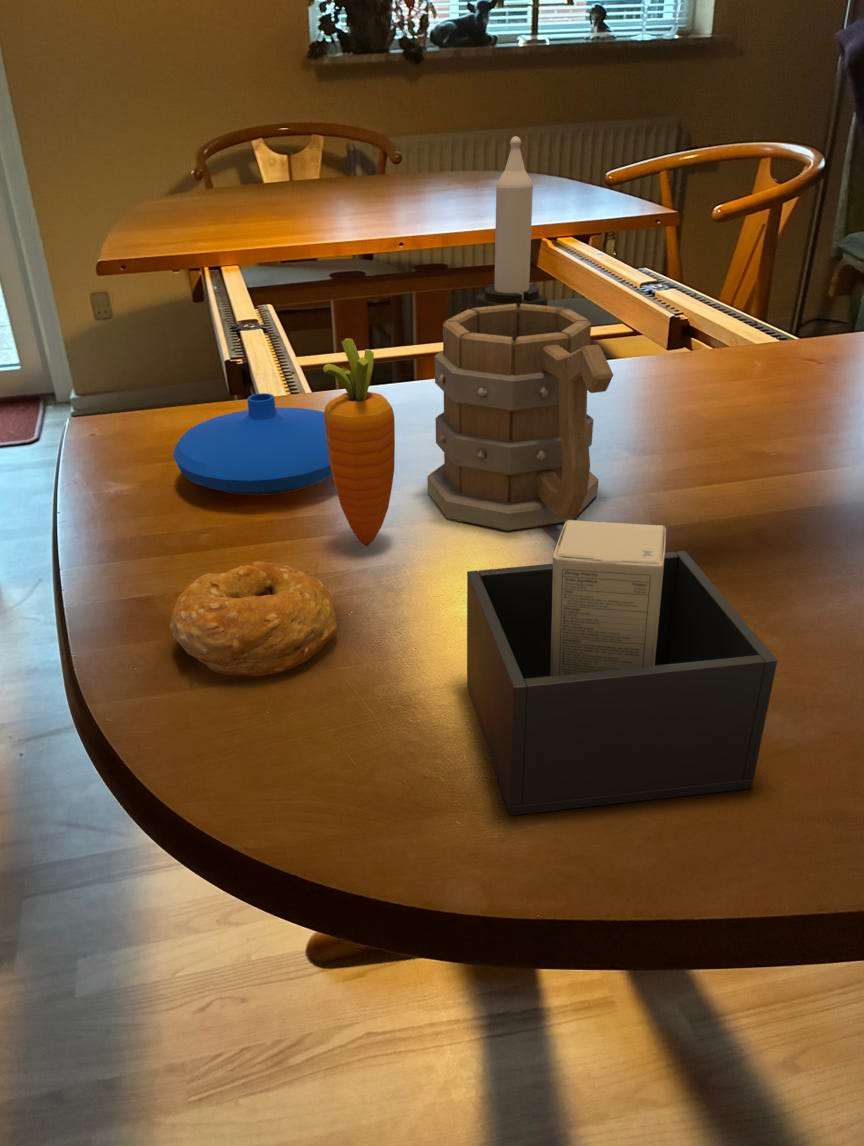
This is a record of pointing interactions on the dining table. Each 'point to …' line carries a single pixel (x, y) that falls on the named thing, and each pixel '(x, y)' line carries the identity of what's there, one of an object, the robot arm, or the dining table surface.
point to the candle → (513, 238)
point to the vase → (256, 449)
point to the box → (606, 596)
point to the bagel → (254, 619)
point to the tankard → (516, 416)
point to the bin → (615, 697)
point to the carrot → (360, 445)
